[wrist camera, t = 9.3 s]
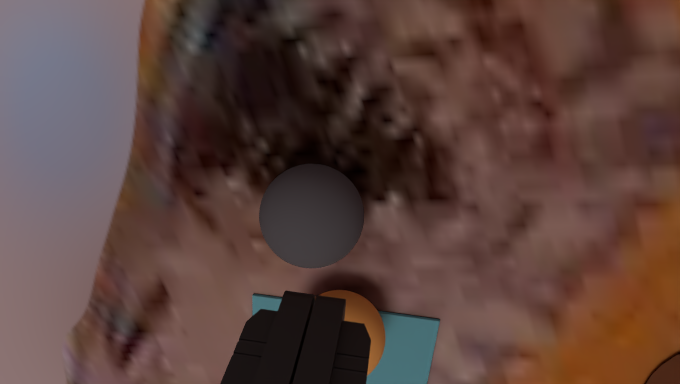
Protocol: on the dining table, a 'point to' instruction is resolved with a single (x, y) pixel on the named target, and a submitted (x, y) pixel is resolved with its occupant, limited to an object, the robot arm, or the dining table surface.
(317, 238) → the gray ball
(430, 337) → the teal mark
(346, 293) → the orange ball
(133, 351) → the dining table surface
